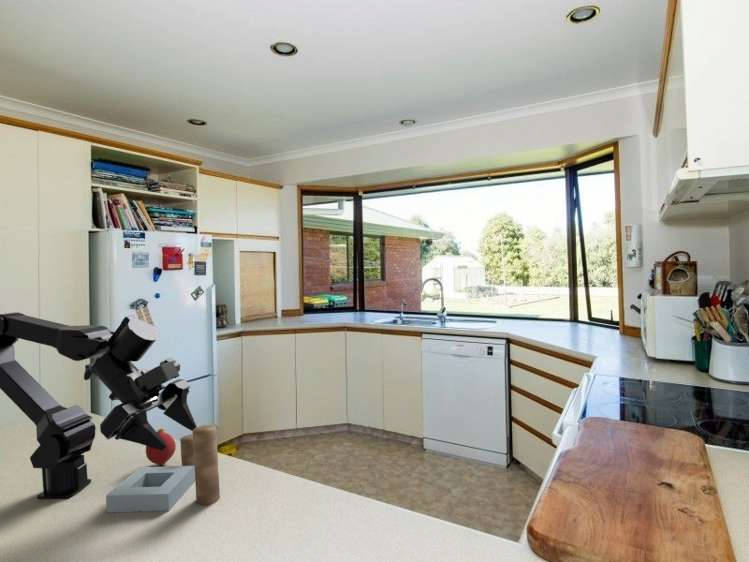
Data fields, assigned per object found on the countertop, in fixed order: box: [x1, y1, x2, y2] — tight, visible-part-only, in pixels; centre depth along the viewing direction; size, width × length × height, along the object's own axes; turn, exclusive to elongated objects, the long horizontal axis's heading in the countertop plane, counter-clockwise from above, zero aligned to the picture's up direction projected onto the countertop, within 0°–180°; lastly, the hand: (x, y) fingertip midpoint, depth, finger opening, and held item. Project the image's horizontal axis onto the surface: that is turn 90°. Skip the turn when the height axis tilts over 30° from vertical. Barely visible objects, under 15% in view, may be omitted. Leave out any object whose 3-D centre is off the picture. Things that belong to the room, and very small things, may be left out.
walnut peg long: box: [192, 424, 221, 506], centre depth 82 cm, size 4×4×13 cm
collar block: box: [105, 465, 195, 513], centre depth 84 cm, size 11×11×3 cm
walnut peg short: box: [179, 433, 194, 466], centre depth 94 cm, size 4×4×7 cm
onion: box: [145, 427, 177, 467], centre depth 97 cm, size 6×6×8 cm
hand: (180, 438), depth 82 cm, fingers open, 9 cm apart
